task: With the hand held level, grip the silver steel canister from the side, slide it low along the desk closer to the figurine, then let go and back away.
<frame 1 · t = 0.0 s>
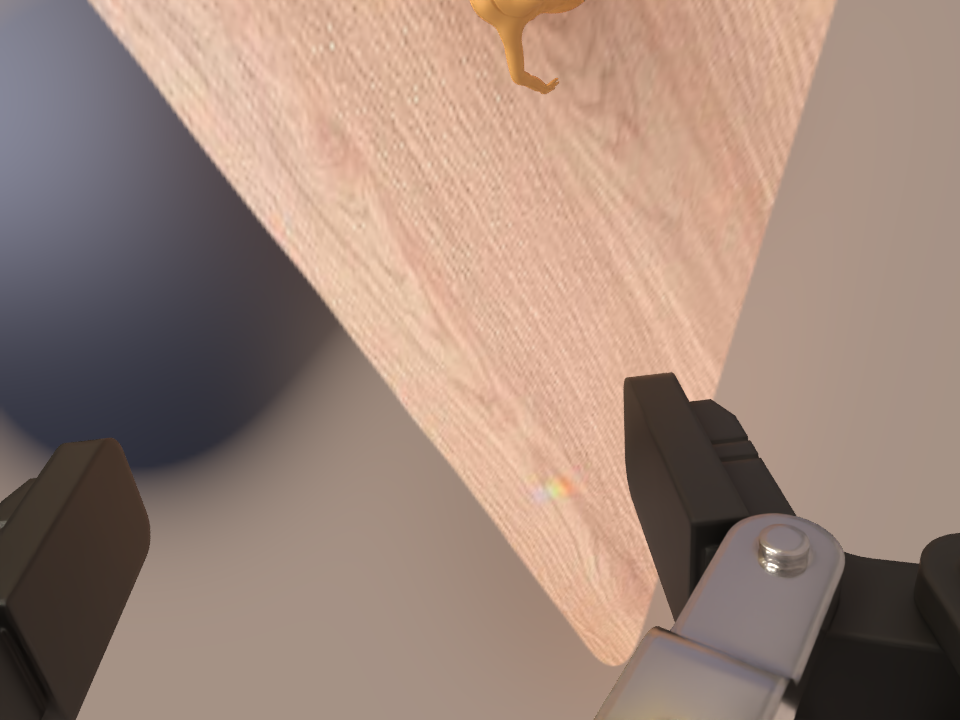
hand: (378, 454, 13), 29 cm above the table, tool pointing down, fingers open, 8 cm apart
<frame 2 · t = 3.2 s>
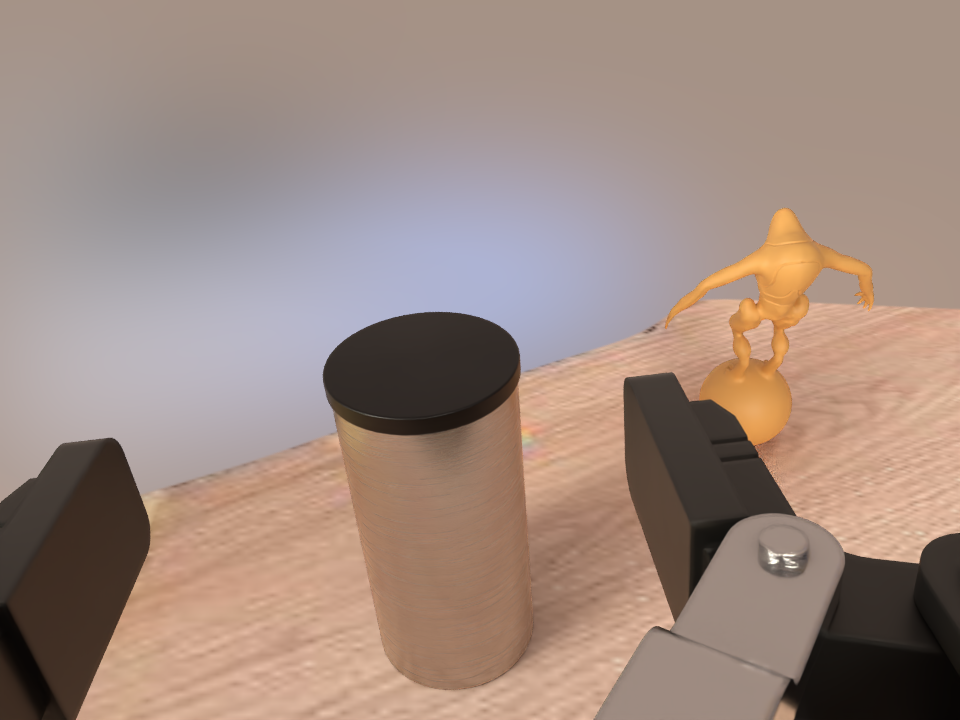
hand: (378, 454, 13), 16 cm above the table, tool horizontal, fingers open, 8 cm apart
figurine: (747, 453, 38), on the table
canister: (457, 624, 30), on the table
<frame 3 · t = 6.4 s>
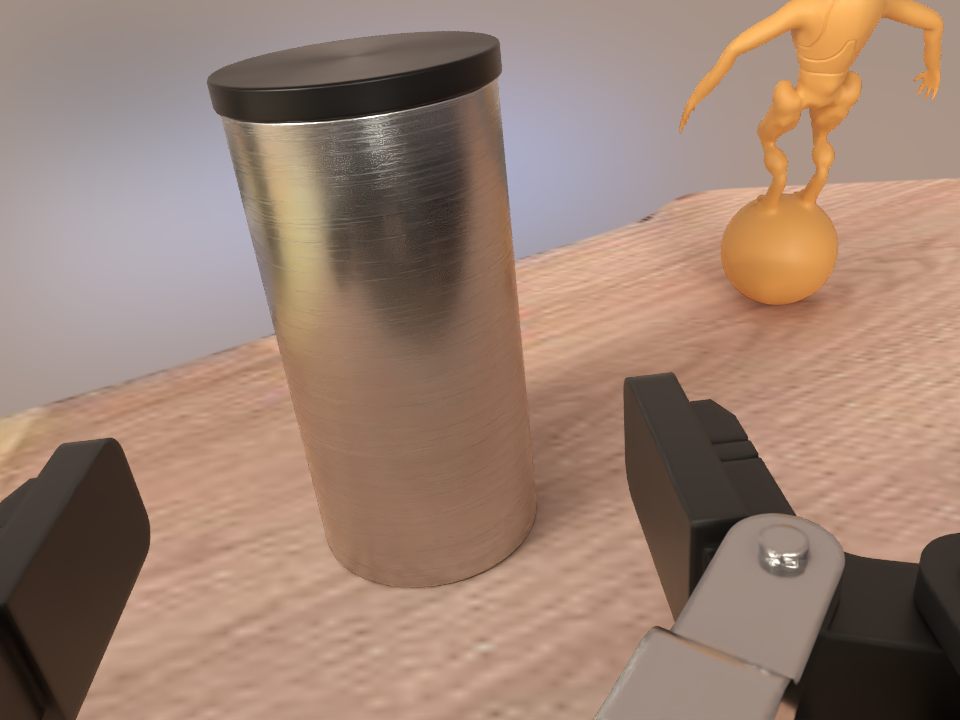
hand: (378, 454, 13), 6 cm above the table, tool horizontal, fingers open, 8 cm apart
figurine: (785, 315, 30), on the table
canister: (431, 512, 22), on the table
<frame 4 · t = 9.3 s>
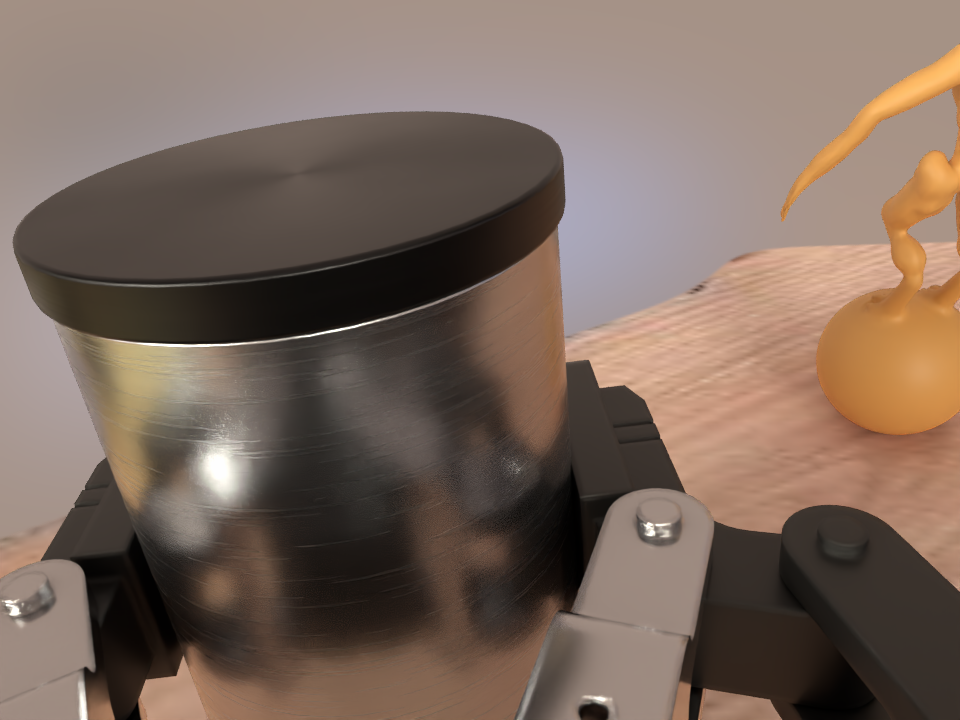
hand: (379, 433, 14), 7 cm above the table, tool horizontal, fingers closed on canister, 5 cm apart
figurine: (904, 448, 23), on the table
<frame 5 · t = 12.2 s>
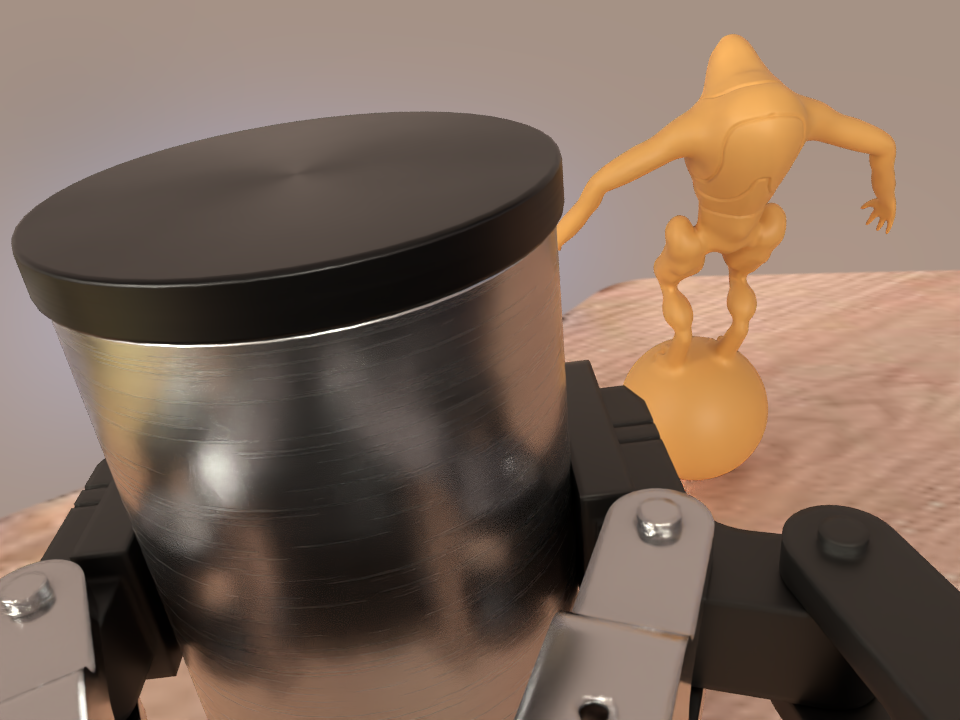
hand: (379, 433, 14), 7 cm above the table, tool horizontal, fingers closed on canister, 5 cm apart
figurine: (702, 492, 23), on the table
when the fingers open (7 cm above the table, at t = 15.1 s): canister stays where it is, on the table.
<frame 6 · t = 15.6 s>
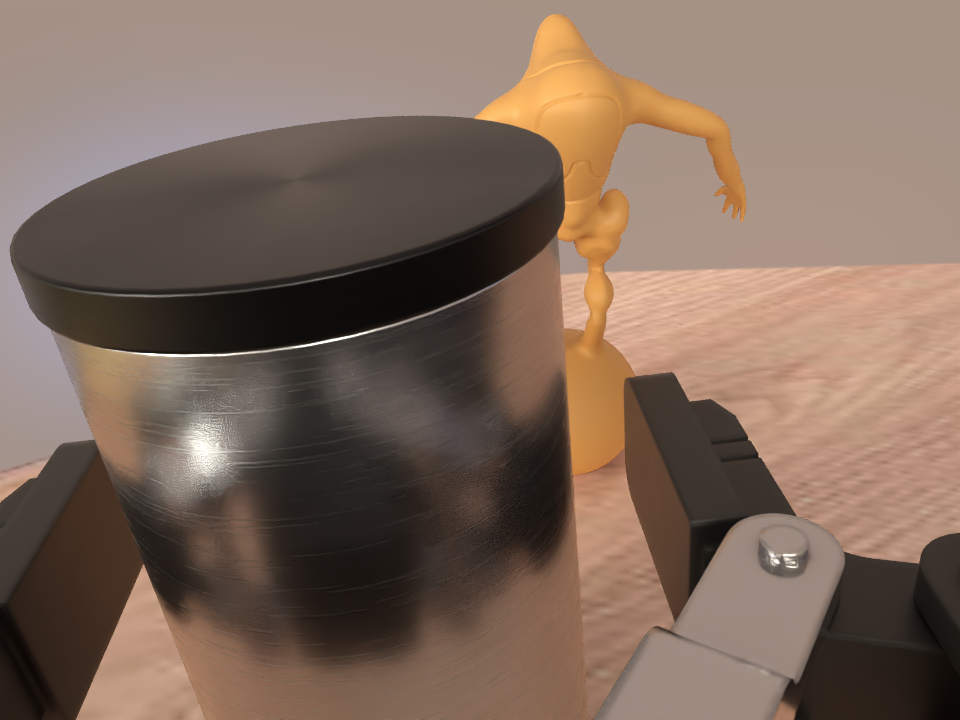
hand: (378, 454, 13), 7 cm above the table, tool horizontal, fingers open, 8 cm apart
figurine: (576, 488, 23), on the table
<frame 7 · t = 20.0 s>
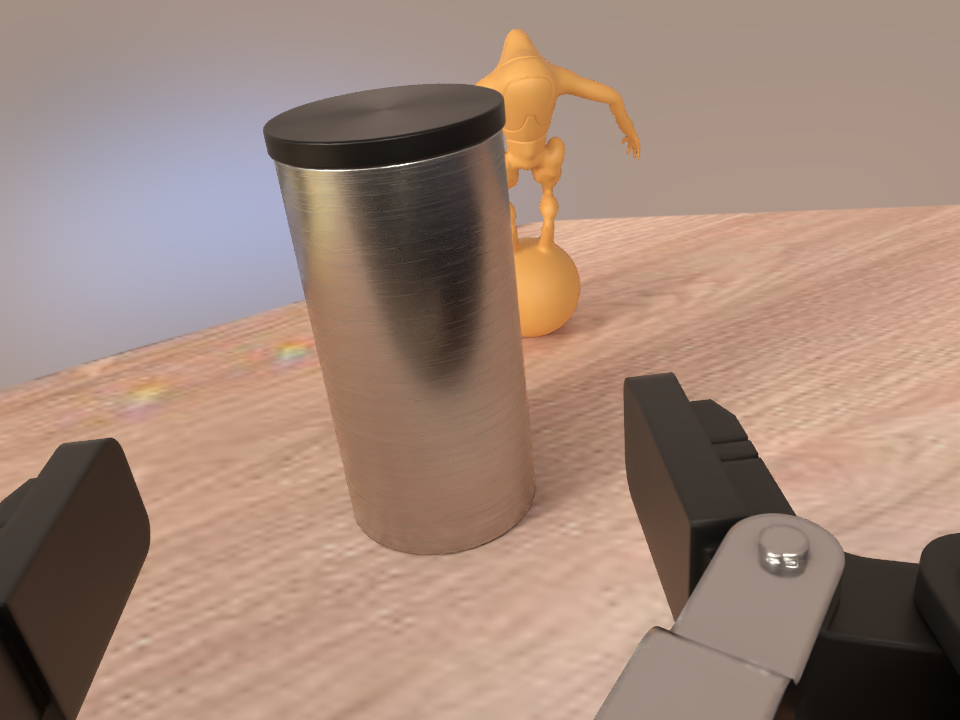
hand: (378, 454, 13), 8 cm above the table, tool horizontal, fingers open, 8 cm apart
figurine: (538, 346, 33), on the table
canister: (444, 492, 25), on the table
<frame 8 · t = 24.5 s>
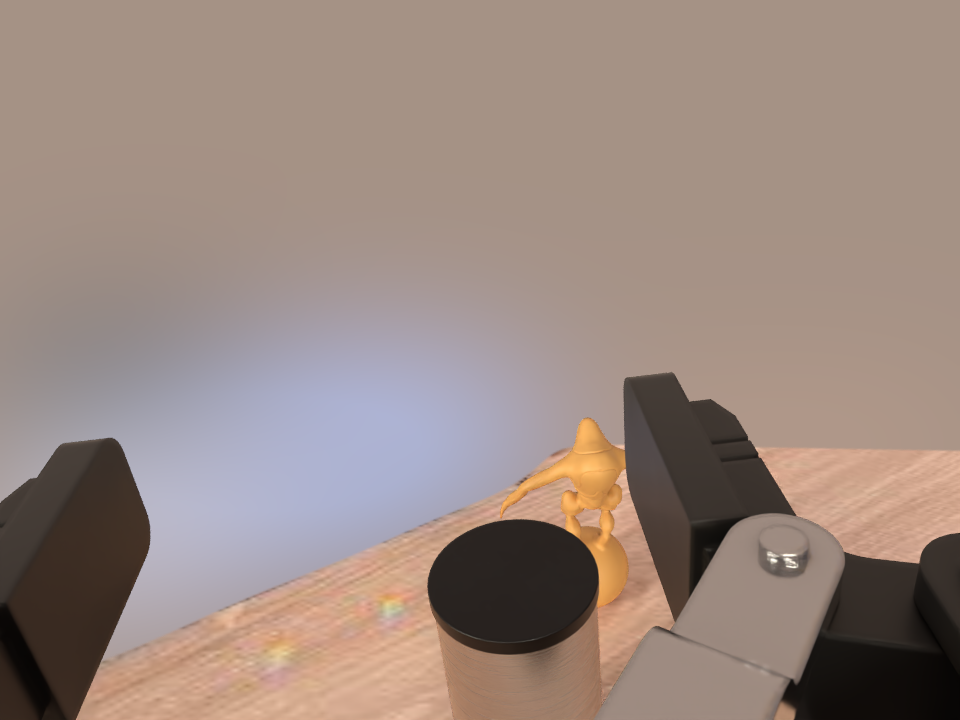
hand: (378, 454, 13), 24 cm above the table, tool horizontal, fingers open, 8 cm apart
figurine: (594, 613, 42), on the table
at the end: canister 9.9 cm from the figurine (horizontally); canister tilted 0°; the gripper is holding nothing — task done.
